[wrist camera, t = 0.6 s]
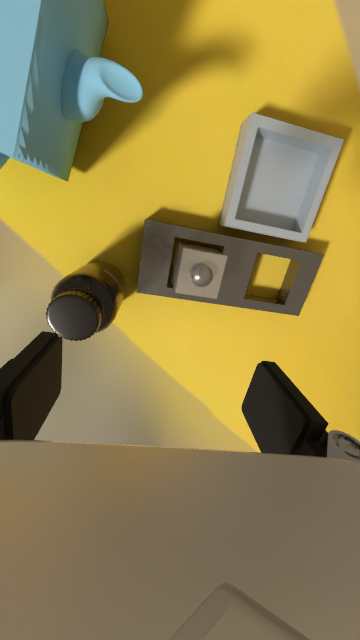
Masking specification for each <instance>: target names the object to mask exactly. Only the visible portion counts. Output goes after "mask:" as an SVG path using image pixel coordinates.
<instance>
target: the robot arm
mask: <svg viewBox="0 0 360 640" xmlns="http://www.w3.org/2000/svg"><path fill="white" fill-rule="evenodd" d="M61 371H62V337H58V334H57V333H51V332H41V333H40V334H39V335H38V336H37V337H36V338H35V339H34V340H33V341H32V342H31V343H30V344H29V345H28V346H26V347H25V348H24V349H23V350H22V351H21V352H20V353H19V354H18V355H17V356H16V357H15V358H14V359H11V360H9V361H8V362H7V363H6V364H5V365H4V366H3V367H2V368H0V640H360V442H359V441H358V440H357V439H355V438H354V437H352V436H350V435H349V434H346V433H344V432H341V431H337V430H332V431H330V432H329V433H328V432H327V431H326V430H325V429H326V427H327V425H328V423H327V421H326V420H325V419H324V418H323V417H322V416H321V415H320V413H319V412H318V411H317V410H316V409H315V408H314V407H313V405H312V404H311V403H310V402H309V401H308V400H307V399H306V397H305V396H304V395H303V394H302V393H301V392H300V391H299V389H298V388H297V387H296V386H295V385H294V384H293V383H292V381H291V380H290V379H289V378H288V377H287V376H286V374H285V373H284V372H283V371H282V370H281V369H280V368H279V366H278V365H277V364H276V363H275V362H269V361H262V362H261V363H259V364H258V365H257V367H256V370H255V372H254V375H253V377H252V380H251V383H250V385H249V388H248V391H247V393H246V396H245V398H244V401H243V404H242V412H243V414H244V417H245V419H246V421H247V423H248V425H249V427H250V429H251V432H252V434H253V436H254V438H255V440H256V442H257V444H258V446H259V449H260V451H261V453H258V452H242V451H226V450H210V449H194V448H177V447H160V446H141V445H122V444H104V443H85V442H67V441H46V440H45V441H44V440H34V439H35V437H36V435H37V434H38V432H39V430H40V428H41V426H42V425H43V423H44V421H45V419H46V418H47V416H48V414H49V412H50V410H51V408H52V407H53V405H54V403H55V401H56V400H57V398H58V396H59V394H60V391H61V374H62V373H61Z"/></svg>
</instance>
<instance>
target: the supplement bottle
mask: <svg viewBox="0 0 360 640" xmlns="http://www.w3.org/2000/svg"><path fill="white" fill-rule="evenodd" d="M125 292H126V285H125V281H124V278H123V276H122V275H121V273H120V272H119V271H118V270H117V269H116V268H115V267H113V266H111V265H109V264H107V263H103V262H93V263H89V264H87V265H85V266H83V267H81V268H79V269H78V270H76V271H74V272H73V273H71V274H69V275H68V276H66V277H64V278H63V279H62V280H61V281H59V282H58V283H57V285H56V286H55V287H54V290H53V292H52V295H51V303H49V307H48V308H47V312H46V315H47V317H46V318H47V320H48V324H50V327H51V328H52V330H53V331H54V332H56V333H57V334H58V335H60V336H61V337H63V338H65V339H69V340H75V341H78V340H80V341H81V340H83V339H87V338H90V337H91V336H92V335H94V333H97V332H100V331H102V330H104V329H105V328H107V327H108V326H109V325H110V324H111V323H112V322H113V320H114V319H115V317H116V314H117V312H118V310H119V308H120V305H121V303H122V301H123V299H124V296H125Z"/></svg>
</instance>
